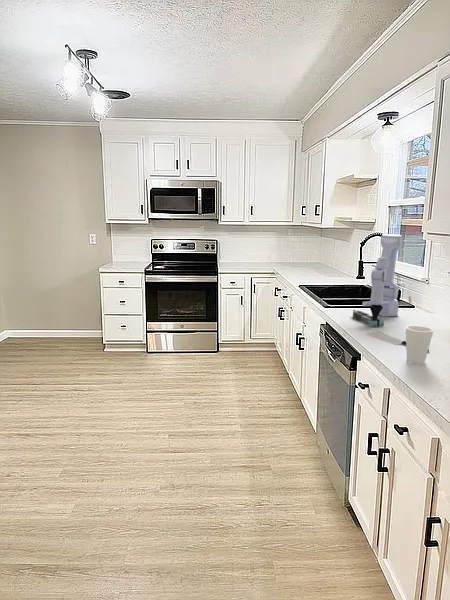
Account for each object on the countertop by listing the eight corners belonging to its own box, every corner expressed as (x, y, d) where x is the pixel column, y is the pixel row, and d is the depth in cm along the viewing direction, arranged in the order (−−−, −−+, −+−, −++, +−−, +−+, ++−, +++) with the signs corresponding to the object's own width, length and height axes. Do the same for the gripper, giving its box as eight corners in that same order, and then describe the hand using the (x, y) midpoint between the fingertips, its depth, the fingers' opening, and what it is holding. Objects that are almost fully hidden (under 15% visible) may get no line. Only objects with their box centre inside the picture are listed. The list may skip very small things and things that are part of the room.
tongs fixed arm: (351, 318, 244) (352, 312, 243) (356, 318, 245) (357, 312, 244) (371, 327, 226) (372, 320, 225) (377, 326, 227) (377, 320, 226)
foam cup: (404, 364, 172) (408, 330, 169) (400, 357, 181) (403, 324, 178) (431, 367, 170) (436, 332, 168) (425, 359, 179) (429, 326, 177)
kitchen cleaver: (361, 333, 213) (379, 328, 216) (361, 336, 213) (378, 332, 217) (414, 353, 185) (432, 348, 189) (414, 357, 185) (432, 352, 189)
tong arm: (351, 316, 247) (352, 309, 247) (358, 315, 249) (359, 309, 248) (376, 326, 227) (376, 319, 226) (383, 326, 228) (384, 319, 227)
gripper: (368, 295, 227) (366, 322, 229) (394, 294, 230) (391, 321, 233) (361, 292, 233) (358, 318, 236) (386, 291, 237) (383, 317, 240)
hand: (374, 319), depth 235 cm, fingers closed
